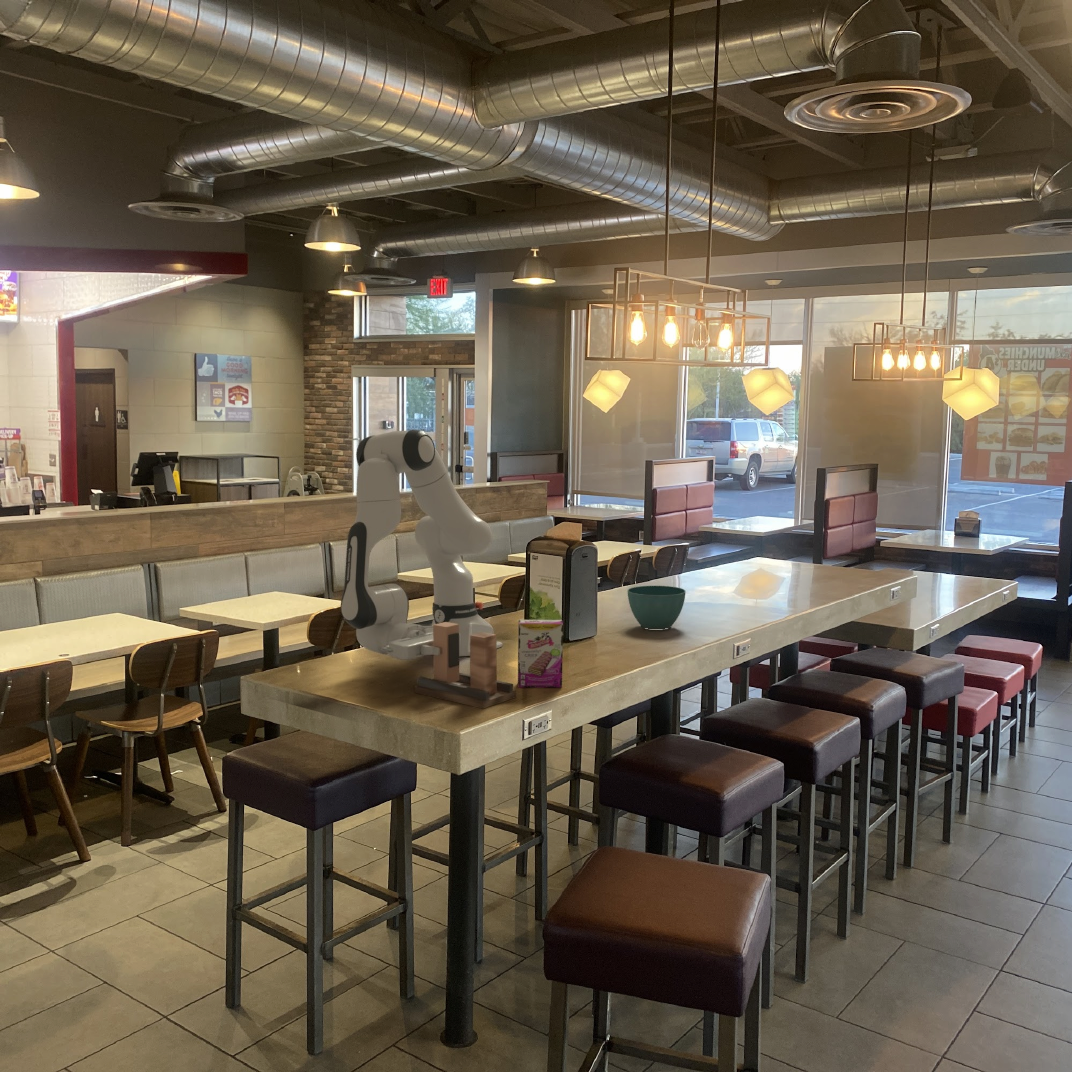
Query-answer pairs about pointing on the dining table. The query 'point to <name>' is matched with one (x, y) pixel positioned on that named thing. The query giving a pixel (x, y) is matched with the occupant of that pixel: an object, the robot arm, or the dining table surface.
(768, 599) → the dining table surface
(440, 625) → the tall tan pillar
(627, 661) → the dining table surface
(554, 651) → the candy bar box
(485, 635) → the wooden stand
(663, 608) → the dark green round bowl
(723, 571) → the dining table surface
